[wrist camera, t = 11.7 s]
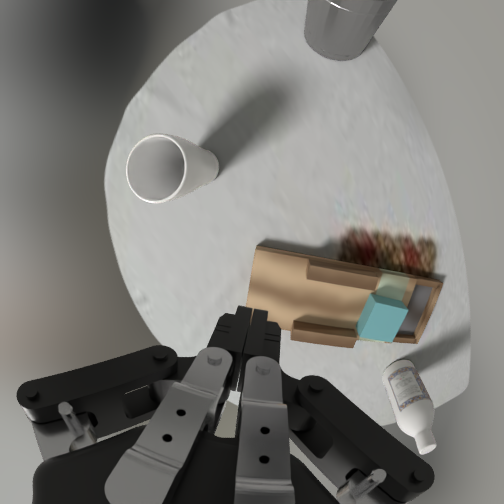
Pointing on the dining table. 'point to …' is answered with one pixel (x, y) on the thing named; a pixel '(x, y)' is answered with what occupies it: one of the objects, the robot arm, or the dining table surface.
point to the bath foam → (410, 403)
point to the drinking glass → (168, 168)
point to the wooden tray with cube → (333, 296)
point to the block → (381, 318)
